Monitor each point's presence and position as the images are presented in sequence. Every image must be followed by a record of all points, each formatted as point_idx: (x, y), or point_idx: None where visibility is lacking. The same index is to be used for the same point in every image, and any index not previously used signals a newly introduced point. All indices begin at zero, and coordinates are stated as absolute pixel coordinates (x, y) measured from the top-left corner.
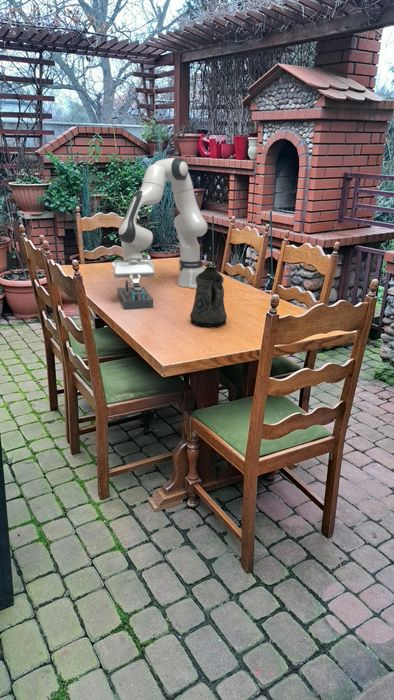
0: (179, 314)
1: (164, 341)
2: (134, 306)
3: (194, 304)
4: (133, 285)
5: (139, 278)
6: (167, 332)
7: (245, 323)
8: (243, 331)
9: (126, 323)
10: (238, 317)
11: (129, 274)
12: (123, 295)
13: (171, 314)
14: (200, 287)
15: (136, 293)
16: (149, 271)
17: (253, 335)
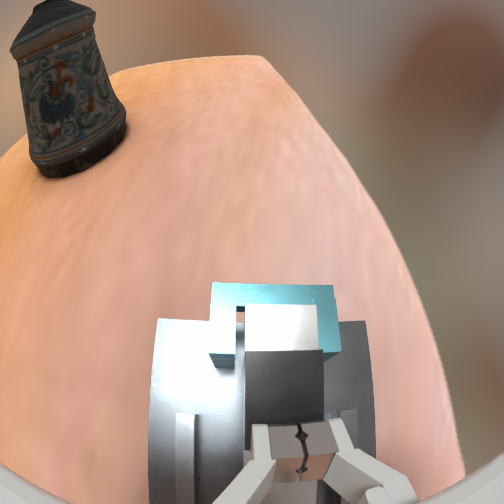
0: (101, 210)
1: (241, 84)
2: None
3: (104, 87)
4: (323, 414)
5: (238, 475)
6: (217, 105)
7: None
8: None
9: (329, 168)
10: (8, 171)
11: (429, 497)
12: None
13: (129, 215)
14: (92, 32)
15: (294, 289)
16: (8, 497)
17: None
